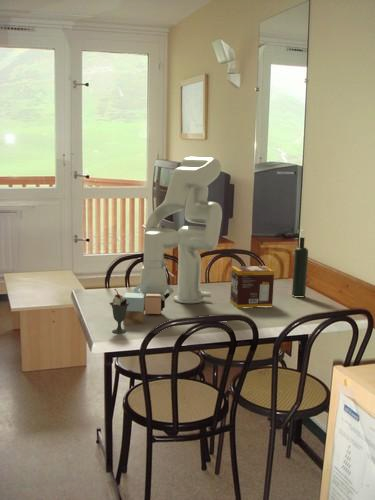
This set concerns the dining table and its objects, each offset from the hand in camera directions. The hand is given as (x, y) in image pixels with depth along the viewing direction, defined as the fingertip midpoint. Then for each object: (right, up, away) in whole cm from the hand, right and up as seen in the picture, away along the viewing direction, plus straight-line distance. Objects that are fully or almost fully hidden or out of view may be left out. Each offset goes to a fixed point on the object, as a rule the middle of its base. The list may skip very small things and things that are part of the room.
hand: (153, 309), depth 230 cm
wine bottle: (+63, +2, +36) cm, 72 cm away
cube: (0, -1, 0) cm, 1 cm away
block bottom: (-7, -4, -10) cm, 13 cm away
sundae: (-11, -6, -23) cm, 26 cm away
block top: (-6, +1, -11) cm, 13 cm away
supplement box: (+40, 0, +20) cm, 44 cm away
